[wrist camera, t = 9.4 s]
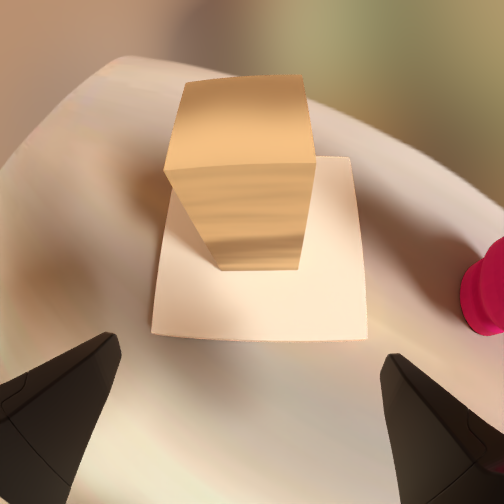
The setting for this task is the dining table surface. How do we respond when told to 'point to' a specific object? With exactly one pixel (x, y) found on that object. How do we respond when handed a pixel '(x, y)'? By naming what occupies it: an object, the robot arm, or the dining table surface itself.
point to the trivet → (270, 277)
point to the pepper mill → (485, 292)
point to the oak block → (245, 168)
